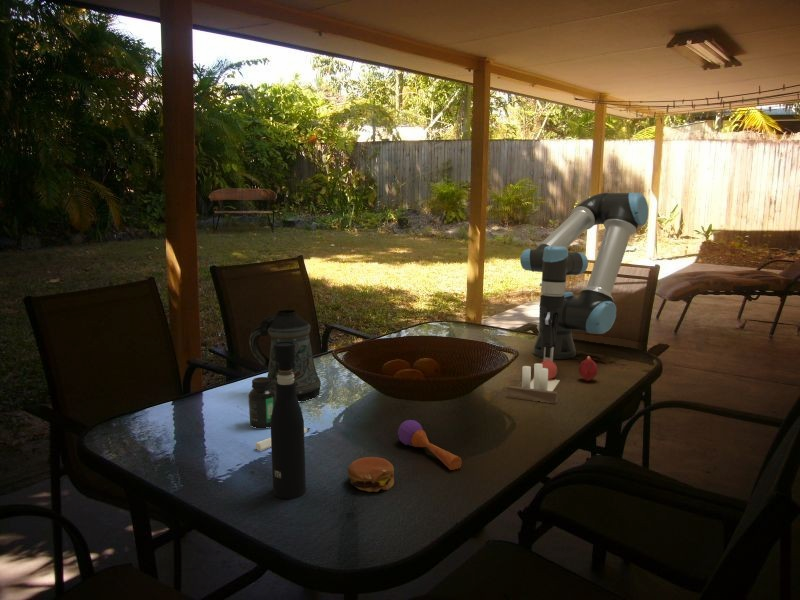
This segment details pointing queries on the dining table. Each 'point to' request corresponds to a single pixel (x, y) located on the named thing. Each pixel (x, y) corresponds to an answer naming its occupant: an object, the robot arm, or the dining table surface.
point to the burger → (371, 474)
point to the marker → (269, 442)
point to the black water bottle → (287, 429)
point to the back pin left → (543, 379)
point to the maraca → (425, 443)
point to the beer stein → (297, 331)
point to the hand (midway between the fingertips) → (547, 366)
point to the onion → (588, 369)
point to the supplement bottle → (261, 402)
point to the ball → (550, 368)
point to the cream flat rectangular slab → (551, 384)
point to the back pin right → (526, 376)
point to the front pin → (537, 374)
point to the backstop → (532, 394)
